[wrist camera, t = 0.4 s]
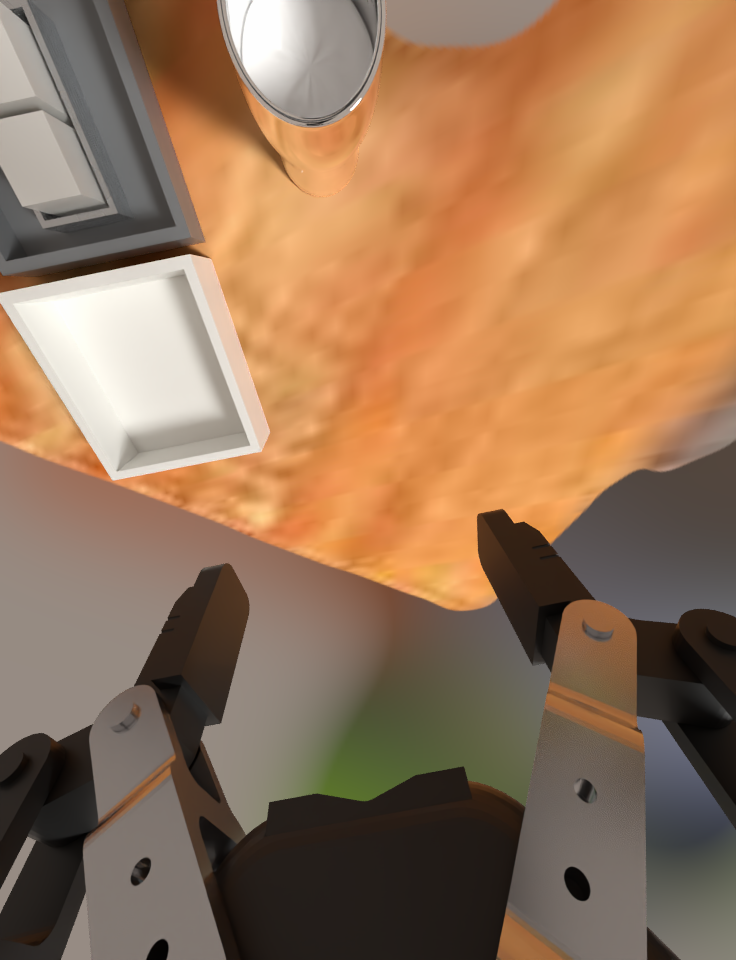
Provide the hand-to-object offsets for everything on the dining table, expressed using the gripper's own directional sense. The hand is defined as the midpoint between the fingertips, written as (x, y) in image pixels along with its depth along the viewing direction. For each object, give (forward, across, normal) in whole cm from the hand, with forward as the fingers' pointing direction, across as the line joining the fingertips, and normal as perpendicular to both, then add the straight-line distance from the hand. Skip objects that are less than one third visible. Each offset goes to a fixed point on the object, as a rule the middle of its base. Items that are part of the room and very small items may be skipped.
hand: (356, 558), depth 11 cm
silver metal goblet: (+28, -2, -16) cm, 32 cm away
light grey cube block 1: (+26, +16, -22) cm, 38 cm away
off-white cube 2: (+26, +16, -17) cm, 35 cm away
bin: (+27, +16, -3) cm, 32 cm away
